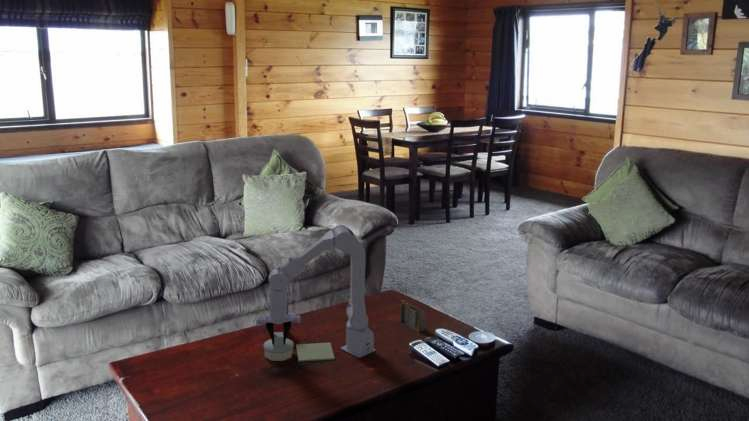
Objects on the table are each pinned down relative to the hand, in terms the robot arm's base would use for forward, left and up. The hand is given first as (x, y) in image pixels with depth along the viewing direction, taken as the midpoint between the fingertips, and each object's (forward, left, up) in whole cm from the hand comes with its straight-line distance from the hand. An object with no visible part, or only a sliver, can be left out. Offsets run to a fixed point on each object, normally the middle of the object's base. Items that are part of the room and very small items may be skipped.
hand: (278, 342), depth 227 cm
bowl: (0, 0, -4) cm, 4 cm away
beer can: (+14, -11, -4) cm, 18 cm away
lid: (0, 0, -1) cm, 1 cm away
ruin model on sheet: (-15, -51, -5) cm, 53 cm away
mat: (-7, -10, -4) cm, 13 cm away
